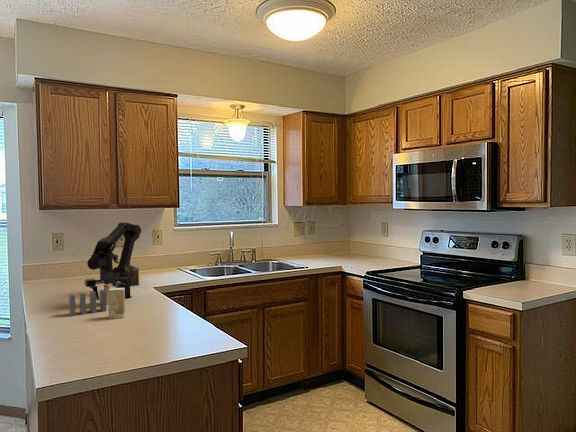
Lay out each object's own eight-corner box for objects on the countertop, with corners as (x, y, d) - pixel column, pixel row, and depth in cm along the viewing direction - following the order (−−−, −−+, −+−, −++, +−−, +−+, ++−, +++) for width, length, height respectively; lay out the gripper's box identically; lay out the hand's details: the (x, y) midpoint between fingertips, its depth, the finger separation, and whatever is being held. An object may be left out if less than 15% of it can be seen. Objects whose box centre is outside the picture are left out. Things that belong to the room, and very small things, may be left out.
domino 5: (107, 302, 216) (107, 284, 216) (110, 304, 212) (109, 286, 212) (104, 303, 215) (103, 284, 215) (106, 305, 211) (106, 286, 211)
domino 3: (94, 310, 202) (93, 290, 201) (96, 312, 198) (95, 292, 197) (90, 311, 201) (89, 291, 200) (92, 313, 197) (91, 293, 196)
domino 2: (83, 311, 199) (83, 292, 199) (85, 314, 195) (85, 293, 195) (80, 312, 198) (79, 292, 198) (82, 314, 194) (81, 294, 194)
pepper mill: (139, 282, 270) (139, 252, 270) (138, 285, 260) (137, 255, 259) (112, 283, 266) (111, 254, 266) (110, 287, 256) (109, 256, 255)
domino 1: (73, 313, 197) (72, 293, 197) (75, 315, 193) (74, 295, 192) (69, 314, 196) (68, 293, 196) (71, 316, 192) (70, 295, 192)
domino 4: (104, 309, 204) (103, 289, 204) (106, 311, 200) (105, 291, 200) (100, 309, 203) (99, 290, 203) (102, 311, 199) (102, 291, 199)
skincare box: (108, 319, 187) (107, 290, 186) (109, 316, 191) (108, 288, 190) (124, 317, 188) (123, 289, 188) (125, 315, 193) (124, 287, 192)
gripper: (88, 270, 201) (89, 304, 202) (130, 266, 212) (131, 299, 212) (83, 267, 211) (84, 300, 211) (124, 263, 221) (125, 295, 222)
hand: (107, 298), depth 214 cm, fingers open, 8 cm apart
